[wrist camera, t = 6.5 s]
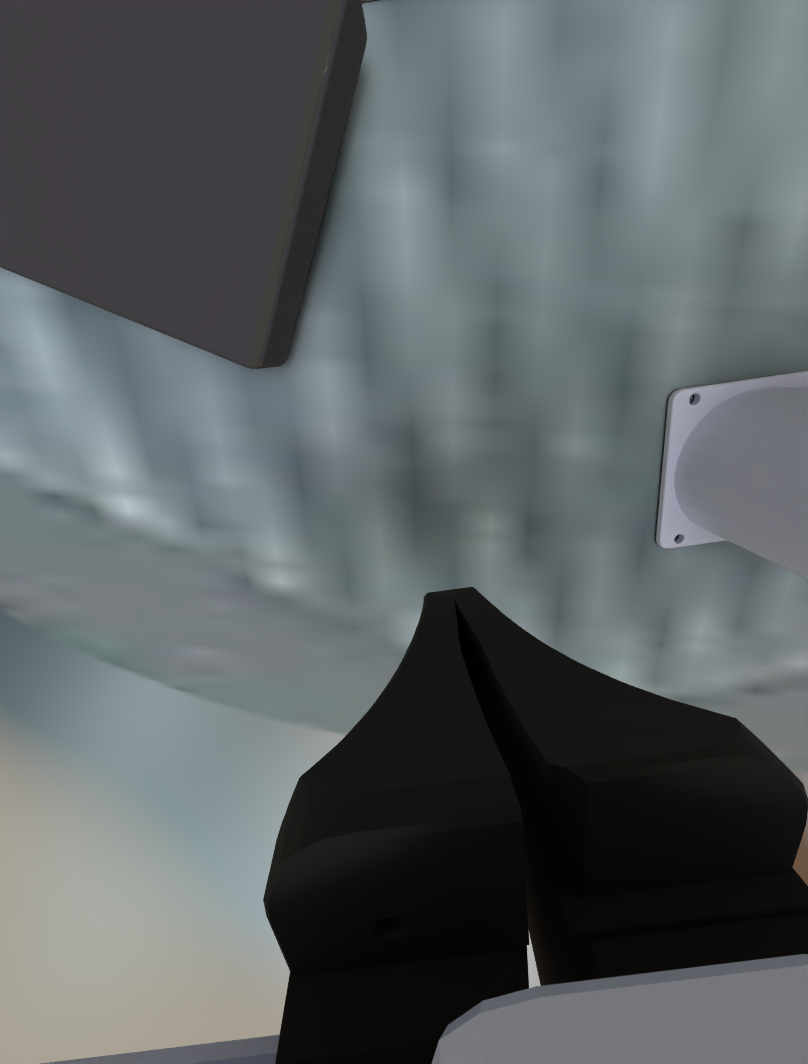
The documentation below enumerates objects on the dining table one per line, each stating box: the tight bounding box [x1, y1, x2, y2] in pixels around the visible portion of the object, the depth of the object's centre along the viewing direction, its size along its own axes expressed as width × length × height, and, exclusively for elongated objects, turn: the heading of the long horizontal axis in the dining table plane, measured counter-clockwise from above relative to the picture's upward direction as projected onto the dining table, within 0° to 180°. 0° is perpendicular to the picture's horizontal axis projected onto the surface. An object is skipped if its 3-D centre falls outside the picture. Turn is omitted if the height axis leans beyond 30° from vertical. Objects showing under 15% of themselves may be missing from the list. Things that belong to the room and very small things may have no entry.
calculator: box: [0, 0, 367, 369], centre depth 13 cm, size 11×4×15 cm
